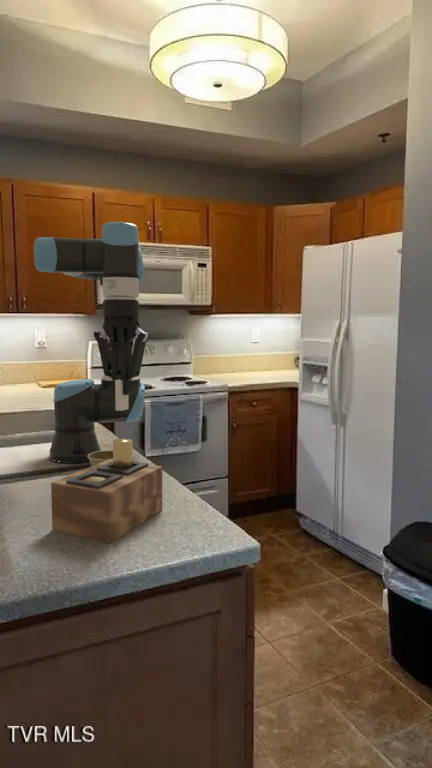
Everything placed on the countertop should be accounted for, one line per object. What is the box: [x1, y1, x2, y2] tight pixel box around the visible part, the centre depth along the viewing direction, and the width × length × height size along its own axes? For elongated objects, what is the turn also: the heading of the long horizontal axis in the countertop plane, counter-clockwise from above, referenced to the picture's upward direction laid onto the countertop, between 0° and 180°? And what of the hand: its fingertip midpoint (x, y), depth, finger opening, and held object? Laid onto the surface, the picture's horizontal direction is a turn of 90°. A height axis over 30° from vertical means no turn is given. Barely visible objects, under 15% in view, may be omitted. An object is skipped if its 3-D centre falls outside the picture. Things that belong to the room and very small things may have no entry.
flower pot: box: [87, 449, 113, 467], centre depth 137 cm, size 9×9×9 cm
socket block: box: [50, 459, 163, 544], centre depth 116 cm, size 20×14×11 cm
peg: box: [112, 438, 134, 470], centre depth 120 cm, size 4×4×8 cm
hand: (122, 409), depth 118 cm, fingers closed
